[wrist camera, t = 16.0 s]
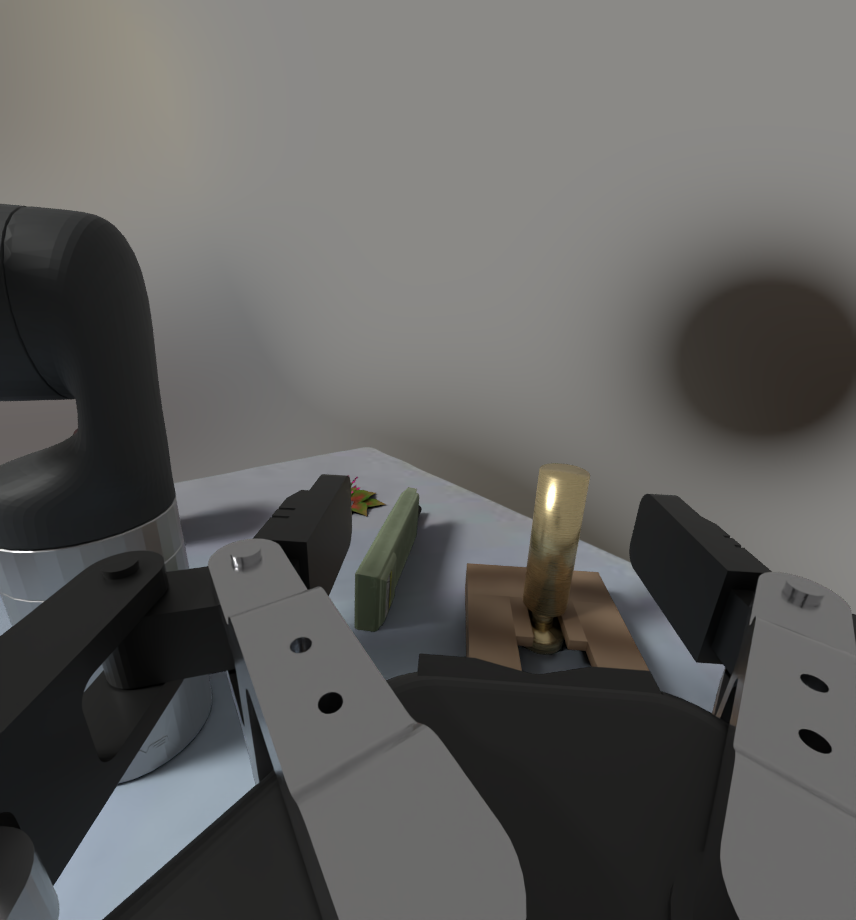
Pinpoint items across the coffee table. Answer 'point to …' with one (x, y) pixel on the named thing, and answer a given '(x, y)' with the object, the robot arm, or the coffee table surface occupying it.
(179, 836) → the coffee table surface
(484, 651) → the keyhole plate
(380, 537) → the handheld radio
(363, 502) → the lily flower
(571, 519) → the brass peg
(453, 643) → the coffee table surface
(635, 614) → the coffee table surface
